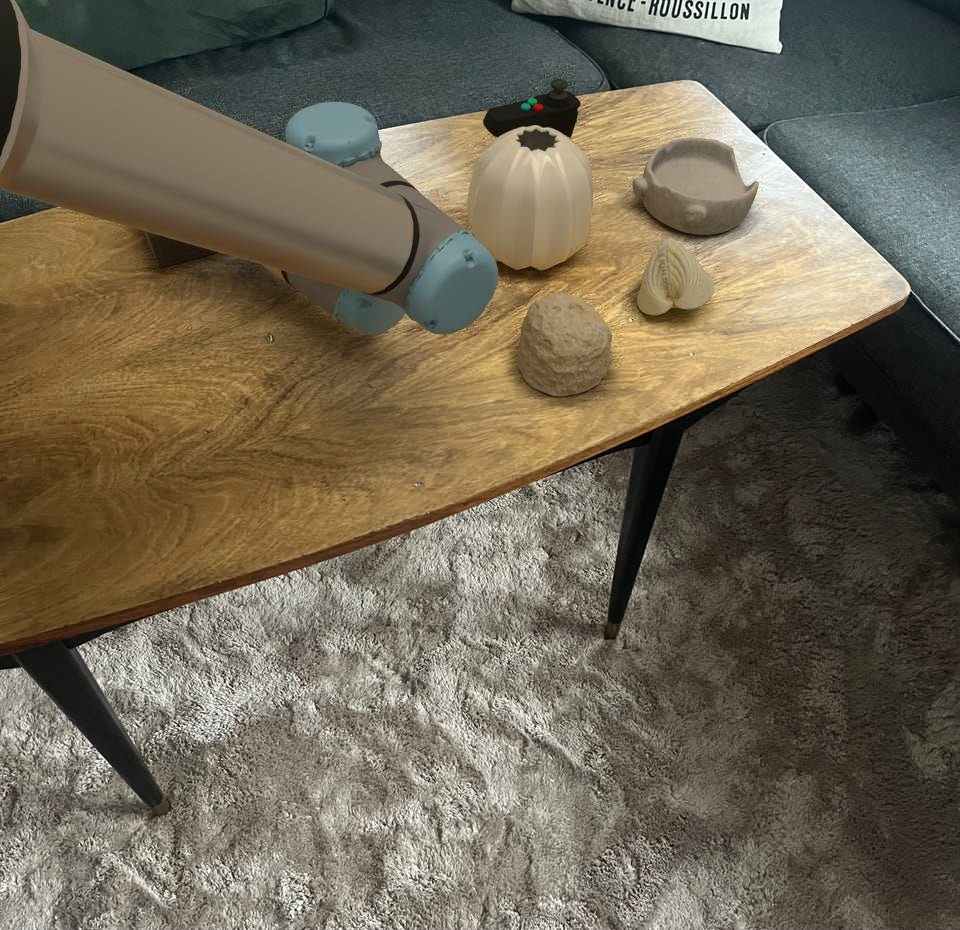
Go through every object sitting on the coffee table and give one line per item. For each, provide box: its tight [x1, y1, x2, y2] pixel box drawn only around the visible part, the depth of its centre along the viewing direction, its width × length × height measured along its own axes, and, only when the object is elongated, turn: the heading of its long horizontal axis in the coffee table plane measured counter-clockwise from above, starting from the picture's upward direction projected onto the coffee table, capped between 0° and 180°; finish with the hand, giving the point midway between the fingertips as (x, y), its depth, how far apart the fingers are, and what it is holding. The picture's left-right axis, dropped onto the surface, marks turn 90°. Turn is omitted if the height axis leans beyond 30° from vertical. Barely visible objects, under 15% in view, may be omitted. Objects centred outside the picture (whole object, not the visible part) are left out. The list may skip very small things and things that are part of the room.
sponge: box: [517, 291, 613, 397], centre depth 81 cm, size 9×10×10 cm
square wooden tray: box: [141, 230, 219, 269], centre depth 94 cm, size 10×10×4 cm
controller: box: [482, 78, 582, 140], centre depth 102 cm, size 4×12×10 cm, turn 116°
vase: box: [466, 125, 594, 271], centre depth 90 cm, size 14×14×13 cm
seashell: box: [636, 237, 715, 316], centre depth 88 cm, size 8×8×8 cm
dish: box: [632, 137, 760, 236], centre depth 99 cm, size 14×14×5 cm
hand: (147, 143), depth 90 cm, fingers closed on soda can, 7 cm apart
